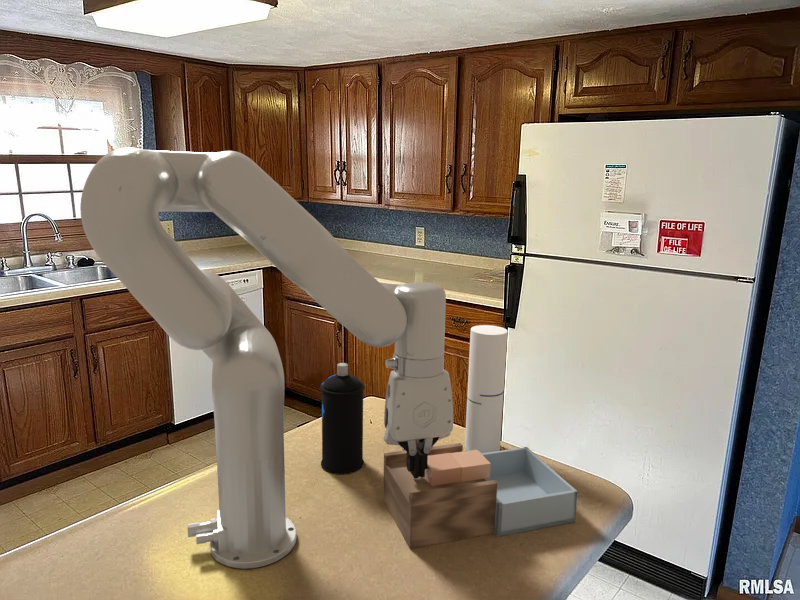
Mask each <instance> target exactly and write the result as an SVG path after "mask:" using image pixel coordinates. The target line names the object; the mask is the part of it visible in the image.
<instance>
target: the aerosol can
mask: <svg viewBox="0 0 800 600" xmlns="http://www.w3.org/2000/svg"><path fill="white" fill-rule="evenodd" d="M336 365H337V366H336V368H337V370H336V371H337V372H336V374H334V375H331V376H329V377H328V378H326V379H325V380H324V381H323V382H322V383H321V384H320V386H319V387H320V391H321V461H320V466H321V469H323V470H324V471H325V472H328V473H330V474H334V475H347V474H348V475H350V474H352V473H355V472H358V471H359V470H361V469H362V468H363V466H364V465H365V461H364V457H363V456H364V455H363V454H364V453H363V452H364V451H363V448H364V446H363V445H364V439H363V438H364V390H365V388H366V387H365V384H364V383H363V382H362V381H361V380H360V379H359V378H358V377H356V376H355V375H352V374H349V365H348V363H346V362H340V363H337V364H336Z"/></svg>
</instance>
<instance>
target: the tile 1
mask: <svg viewBox="0 0 800 600" xmlns="http://www.w3.org/2000/svg"><path fill="white" fill-rule="evenodd" d="M461 469H462V467H461V466H460V465H459V464H458V462H457V461H456V460H455V459H454V458H453V457H452V455H451V454H450V453H445V454H437V455H430V456H428V461H427V469H425V478H426V479H427V480H428V482H429V483H430V485H431V486H435V485H442V484H448V483H455V482H461Z"/></svg>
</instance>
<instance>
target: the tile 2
mask: <svg viewBox="0 0 800 600" xmlns="http://www.w3.org/2000/svg"><path fill="white" fill-rule="evenodd" d="M450 454H451V455H452V457H453V458H454V459H455V460H456V461H457V462H458V464H459V465H460V466H461V467H462V469H461V482H465V481H471V480H478V479H485V478H490V466H491V463H490V462H489V461H488V460H487V459H486V458H485V457H484V456H483V455H482V454H481V453H480V452H479V451H478V450H470V451H467V450H465V451H464V450H463V452H455V453H450Z"/></svg>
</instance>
